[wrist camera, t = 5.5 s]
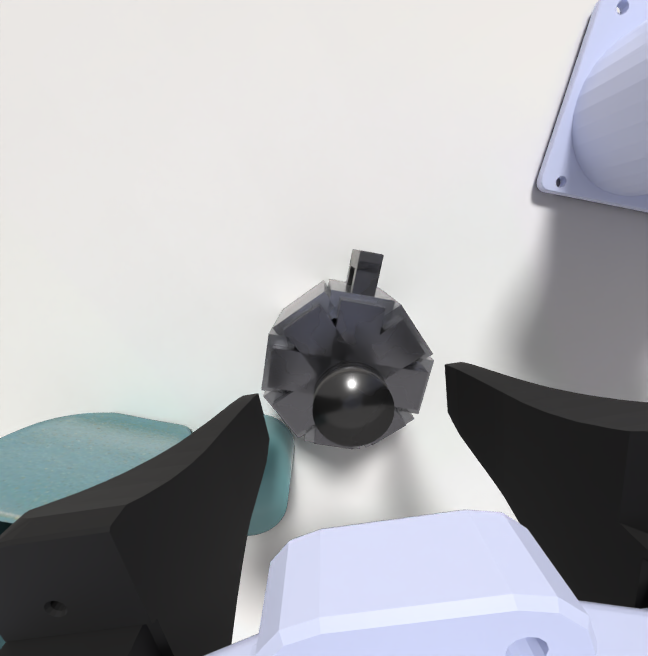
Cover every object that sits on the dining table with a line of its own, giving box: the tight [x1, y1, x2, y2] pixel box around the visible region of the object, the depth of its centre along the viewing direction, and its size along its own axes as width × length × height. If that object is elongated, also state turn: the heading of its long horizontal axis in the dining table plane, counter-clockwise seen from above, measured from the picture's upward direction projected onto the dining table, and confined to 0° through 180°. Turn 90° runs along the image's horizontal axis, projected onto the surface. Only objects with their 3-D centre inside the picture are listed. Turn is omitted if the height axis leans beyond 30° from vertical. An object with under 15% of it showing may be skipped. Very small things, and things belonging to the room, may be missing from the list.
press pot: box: [262, 249, 434, 449], centre depth 16 cm, size 8×9×4 cm
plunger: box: [312, 360, 395, 447], centre depth 14 cm, size 3×3×6 cm
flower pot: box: [0, 413, 192, 649], centre depth 15 cm, size 9×9×9 cm
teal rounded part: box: [247, 415, 295, 536], centre depth 18 cm, size 5×5×4 cm
